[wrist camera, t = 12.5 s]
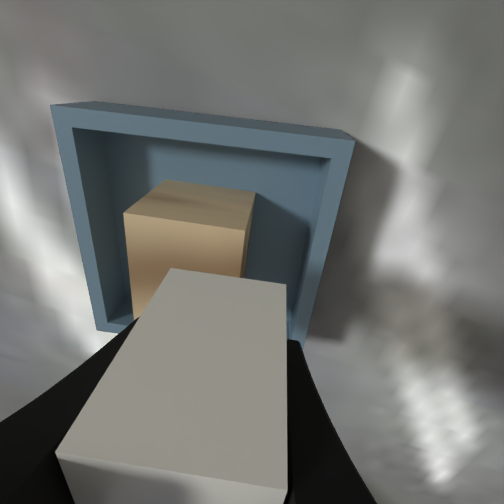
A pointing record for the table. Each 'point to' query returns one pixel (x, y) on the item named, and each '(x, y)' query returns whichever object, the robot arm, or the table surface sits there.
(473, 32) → the table surface
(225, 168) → the tote
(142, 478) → the cream carton
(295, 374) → the robot arm
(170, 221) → the oak block
